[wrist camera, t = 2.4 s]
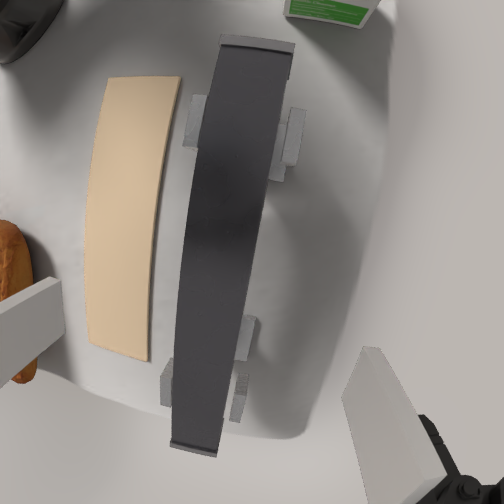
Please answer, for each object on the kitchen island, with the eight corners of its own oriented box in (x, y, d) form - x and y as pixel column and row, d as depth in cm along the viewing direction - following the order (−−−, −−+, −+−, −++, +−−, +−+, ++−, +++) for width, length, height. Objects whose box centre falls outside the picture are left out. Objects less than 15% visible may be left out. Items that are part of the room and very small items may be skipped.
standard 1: (195, 304, 28) (160, 366, 18) (256, 317, 28) (249, 385, 18) (191, 345, 29) (160, 412, 19) (247, 357, 29) (237, 430, 19)
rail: (231, 63, 15) (221, 34, 11) (290, 72, 15) (295, 43, 11) (182, 412, 22) (169, 446, 18) (223, 422, 22) (216, 457, 18)
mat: (110, 79, 23) (108, 77, 22) (181, 78, 23) (179, 76, 22) (90, 340, 30) (88, 342, 30) (148, 359, 30) (146, 361, 30)
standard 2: (225, 116, 24) (196, 77, 13) (293, 127, 23) (309, 93, 13) (215, 170, 25) (179, 164, 15) (283, 182, 25) (293, 183, 15)
